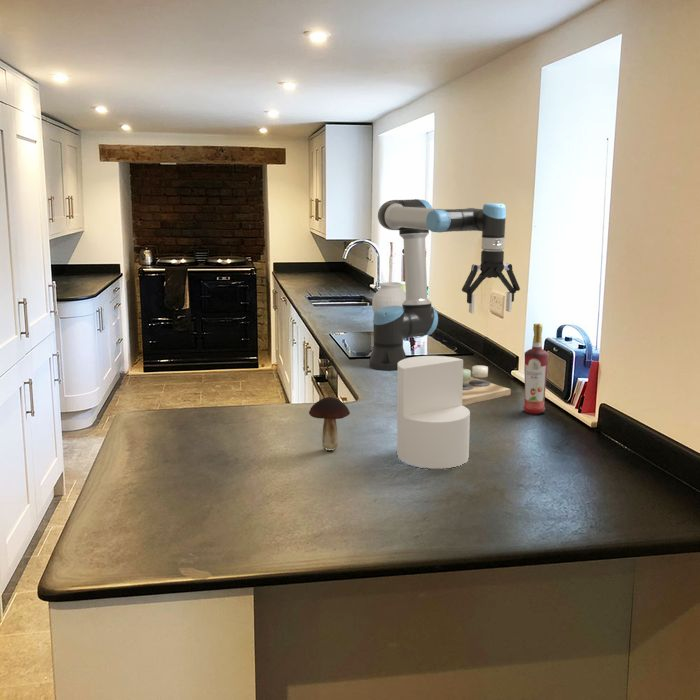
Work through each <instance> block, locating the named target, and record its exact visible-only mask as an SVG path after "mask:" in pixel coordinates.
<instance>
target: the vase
mask: <svg viewBox="0 0 700 700" xmlns="http://www.w3.org/2000/svg"><path fill="white" fill-rule="evenodd" d="M402 285H403V283H401V282H395V281H394V282H393V281H390V282H389V281H387V282H382V283H381V282H380V284H379V286H380V288H379V289H378V290H377V291H376V292H375V293H374V295H373V298H372V301H371V307H372V312H373V314H374V312H375V311H376V310H377V309H379V308H382V307H386V306H401V307H402V303H403V302H404V301H405V300H406V290H404V289H403V288H402Z"/></svg>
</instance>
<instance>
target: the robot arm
mask: <svg viewBox="0 0 700 700" xmlns="http://www.w3.org/2000/svg"><path fill="white" fill-rule="evenodd" d="M506 208H507V207H506V205H505V204H504V203H495V202H494V203H488V202H487V203H484V204H483V206H482V208H475V207H467V208H454V209H453V208H450V209H448V208H446V209H443V208H433V207H432V205H431V204H430V202H429V201H427V200H425V199H416V198H415V199H392V200H391V199H390V200H388V201H386V202H384V203H383V204H382V205H380V207H379V209H378V212H377V219H378V222H379V224H380V225H381V226H382V227H383V228H384V229H386V230H389V231H398V233H399V234H398V235H399V236H400V237H401V238H402V239H403V258H404V261H403V262H404V264H403V265H404V282H405V283H404V285H405V287H404V288H405V292H406V300H405V301H404V302H403V303H402V307H401V306H386V307H382V308H379V309H377V310H376V311H375V312H374V313H373V317H372V318H373V319H372V323H373V346H372V347H373V348H372V350H371V354H370V358H369V360H368V361H369V362H368V364H369V365H368V366H369V367H370V368H372V369H374V370H381V371H395V370H397V371H398V362H399V361H401V360H403V359H406V358H407V356H406V352H405V349H404V339H408V338H415V337H416V338H417V337H425V336H430V335H432V334H433V333H434V332H435V330H436V329H437V326H438V324H439V316H438V312H437V309H436V308H435V306H432V302H431V301H430V299H429V298H428V282H427V281H428V279H427V277H428V276H427V252H426V251H427V249H426V237H427V236H428V235H430V234H429V233H430V232H432V233H446V232H447V233H448V232H468V231H469V232H472V231H473V232H474V231H475V232H477V231H478V232H481V245H480V246H481V252H480V265H479V264H478V265H477V264H471V268H470V269H471V270H470V272H469V274H468V276H467V278H466V281H465V282H464V284H463V286H462V288H461V292H463V293H465V294H466V303H467V304H468V313H470V314H474V313H475V296H476V295H475V294H474V292H475V291H476V290H477V289H478V287H479V286H480V285H481V283H483V281H484V280H485V279H491V278H495V279H497V278H498V279H499V280H500V281H501V282H502V284H503V285H504V286H505V289H507V290H508V291H506V297H505V299H506V301H505V311H506V312H509V313H511V312H512V303H513V302H515V294H516V293H517V292H520V290H521V288H520V285H519V283H518V281H517V279H516V276H515V274H514V270H513V265H512V264H511V263H506V264H504V259H505V258H504V257H505V256H504V255H505V251H504V249H505V239H506V238H505V237H506V236H505V234H506V217H507V212H506V211H507V210H506ZM504 270H505V271H506V274H507V276H508V278H509V280H508V279H507V278H506V276H505V274H503V272H504ZM479 271H480V273H479V274H478V277H477V278H476V279H475V277H476V275H477V273H478V272H479ZM474 279H475V280H474ZM473 281H474V282H473Z"/></svg>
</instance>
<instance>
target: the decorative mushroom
mask: <svg viewBox="0 0 700 700" xmlns="http://www.w3.org/2000/svg"><path fill="white" fill-rule="evenodd" d="M308 414H309V416H311V417H312V418H314V419H323V425H322V435H321V436H322V437H321V438H322V439H321V440H322V447H324V448H327V449H334V448H336V449H337V448H338V445H339V437H338V436H339V435H338V427H337V420H338V419H339V420H340V419H344V418H346V417H348V416H349V415H350V414H351V412H350V410H349V408H348V407H347V405H346V404H345V403H344V402H343V401H341V399H338V398H336V397H334V396H327V397H324V398H321V399H319V400H318V401H316V402H315V403H314V404H313V405H311V407H310V409H309V411H308ZM324 448H323V449H324Z"/></svg>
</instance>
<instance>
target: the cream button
mask: <svg viewBox="0 0 700 700" xmlns="http://www.w3.org/2000/svg"><path fill="white" fill-rule="evenodd" d="M488 374H489V367H488V366H486V365H481V364H480V365H473V366H471V377H473V378H477V379H480V378H487V377H488V376H489V375H488Z"/></svg>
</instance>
